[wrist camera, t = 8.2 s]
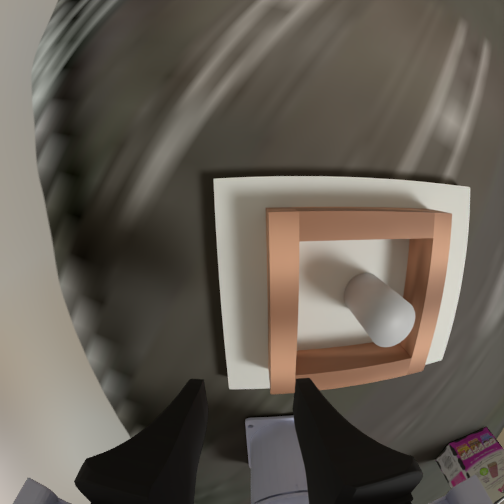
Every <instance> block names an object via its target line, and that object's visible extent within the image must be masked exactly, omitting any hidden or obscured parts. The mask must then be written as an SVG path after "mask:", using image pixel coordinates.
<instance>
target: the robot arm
mask: <svg viewBox="0 0 504 504" xmlns="http://www.w3.org/2000/svg"><path fill="white" fill-rule="evenodd" d="M207 420H208V404H207V398H206V391H205V384H204V380H200V379H190V380H189V381H188V382H187V384H186V385H185V386H184V388H183V389H182V390H181V392H180V393H179V394H178V395H177V397H176V398H175V399H174V400H173V401H172V403H171V404H170V405H169V406H168V407H167V408H166V409H165V410H164V411H163V412H162V413H161V414H160V415H159V416H158V417H157V418H156V419H155V420H154V421H153V422H152V423H151V424H150V425H148V426H147V427H146V428H145V429H143V430H142V431H141V432H139V433H138V434H137V435H135V436H134V437H132V438H131V439H129V440H128V441H126V442H124V443H122V444H120V445H119V446H117V447H115V448H113V449H111V450H108V451H106V452H104V453H101V454H99V455H96V456H93V457H90V458H87V459H86V460H85V462H84V463H83V465H82V467H81V469H80V471H79V473H78V475H77V477H76V479H75V481H74V482H75V485H76V487H77V488H78V489H79V490H80V492H81V493H82V494H83V495H84V496H85V497H86V498H87V499H88V500H89V501H90V502H91V504H194V494H195V483H196V473H197V467H198V463H199V458H200V454H201V450H202V446H203V442H204V437H205V433H206V429H207ZM245 427H246V439H247V450H248V462H249V467H250V468H251V504H411V501H412V500H413V497H412V494H411V492H412V491H413V489H414V488H415V487H416V486H417V485H418V484H419V482H420V481H421V479H422V477H423V473H422V471H421V469H420V467H419V465H418V463H417V462H416V460H415V459H414V457H412V456H409V455H406V454H403V453H401V452H398V451H395V450H393V449H391V448H388V447H386V446H384V445H382V444H380V443H378V442H377V441H375V440H373V439H372V438H370V437H368V436H367V435H365V434H364V433H362V432H361V431H359V430H358V429H357V428H356V427H354V426H353V425H352V424H351V423H349V422H348V421H347V420H346V419H345V418H344V417H343V416H342V415H341V414H340V413H339V412H338V411H337V410H336V409H335V408H334V407H333V406H332V405H331V404H330V403H329V402H328V401H327V399H326V398H325V397H324V396H323V395H322V393H321V392H320V391H319V389H318V388H317V387H316V385H315V384H314V383H313V381H312V380H311V379H310V378H298V379H296V383H295V393H294V403H293V415H291V416H277V417H255V418H247V419H246V420H245ZM13 504H71V503H68V502H66V501H64V500H62V499H60V498H58V497H57V496H56V495H55V494H54V493H53V492H52V491H51V490H50V489H48V488H47V487H45V486H44V485H42V484H40V483H38V482H36V481H34V480H33V479H31V478H27V480H26V482H25V484H24V485H23V487H22V489H21V490H20V492H19V494H18V496H17V497H16V499H15V501H14V503H13ZM428 504H493V503H492V501H491V499H490V497H489V496H488V494H487V492H486V491H485V489H484V487H483V485H482V484H481V482H480V481H479V479H478V477H477V476H476V475H473V476H471V477H470V478H468V479H466V480H465V481H463V482H461V483H459V484H457V485H456V486H454V487H453V488H452V489H451V490H450V491H449V492H448V493H447V494H446V495H445V496H443V497H441V498H439V499H437V500H435V501H433V502H431V503H428Z"/></svg>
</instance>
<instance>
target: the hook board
mask: <svg viewBox="0 0 504 504" xmlns="http://www.w3.org/2000/svg"><path fill="white" fill-rule="evenodd" d="M214 201H215V221H216V239H217V255H218V270H219V283H220V297H221V309H222V321H223V332H224V343H225V353H226V363H227V373H228V382H229V389H263V388H270V381H269V370H268V295H267V246H266V208H272V207H395V208H424V209H432V210H437V211H442V212H447V213H452V226H451V238H450V249H449V257H448V265H447V272H446V279H445V285H444V290H443V296H442V301H441V306H440V311H439V315H438V319H437V324H436V328H435V332H434V336H433V339H432V343H431V347H430V350H429V353H428V357H427V360H426V363H425V365H426V364H430V363H433V362H437V361H440V360H442V358H443V355H444V352H445V349H446V346H447V342H448V339H449V335H450V332H451V328H452V324H453V320H454V316H455V312H456V308H457V303H458V299H459V294H460V289H461V283H462V277H463V271H464V265H465V257H466V249H467V240H468V229H469V213H470V187H464V186H457V185H448V184H440V183H430V182H420V181H409V180H396V179H381V178H362V177H334V176H266V177H237V178H217V179H214ZM408 252H409V239H375V240H336V241H301V242H299V304H298V333H297V351H298V350H310V349H322V348H331V347H341V346H349V345H357V344H364V343H371V342H374V343H375V344H376V345H378V346H380V347H391V346H394V345H396V344H398V343H400V342H401V341H403V340H404V339H405V338H406V337H407V336H408V334H409V333H410V332H411V330H412V328H413V325H414V322H415V311H414V308H413V306H412V305H411V304H410V303H409V302H408V301H406V300H405V299H404V298H403V294H404V287H405V279H406V271H407V262H408Z"/></svg>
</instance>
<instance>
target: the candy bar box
mask: <svg viewBox="0 0 504 504" xmlns="http://www.w3.org/2000/svg"><path fill="white" fill-rule="evenodd" d="M436 462H437V463H438V465H439V467H440V469H441V471H442V472H443V474H444V476H445V478H446V480H447V481H448V483H449V485H450V487H451V489H452V488H453V487H454V486H456V485H457V484H459V483H461V482H463V481H465V480H466V479H468V478H470V477H471V476H473V475H476V476H477V477H478V479H479V481H480V482H481V484H482V485H483V487H484V489H485V491H486V492H487V494H488V496H489V497H490V499H491V501H492V503H493V504H499V503H500V502H502V501H503V500H504V449H503V448H502V446H501V445H500V444H499V442H498V441H497V440H496V438H495V437H494V436H493V434H492V433H491V432H490V430H489V429H488V428H487V427H485V428H483V429H481V430H479V431H477V432H474V433H472V434H470V435H468V436H466V437H463V438H461V439H459V440H456V441H454V442H452V443H449V444H448V445H447V446H446V448H445V449H444V450H443V451H442V452H441V454H440V455H439V456H438V457H437V459H436Z"/></svg>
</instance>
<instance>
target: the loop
mask: <svg viewBox="0 0 504 504" xmlns="http://www.w3.org/2000/svg"><path fill="white" fill-rule="evenodd" d="M451 226H452V213H447V212H442V211H437V210H432V209H424V208H395V207H272V208H266V246H267V295H268V370H269V381H270V392H271V394H284V393H295V383H296V379H298V378H310V379H311V380H312V381H313V383H314V384H315V385H316V387H317V388H318V389H319V390H326V389H334V388H341V387H348V386H354V385H360V384H366V383H371V382H376V381H381V380H386V379H391V378H395V377H400V376H404V375H408V374H412V373H416V372H420V371H423V369H424V366H425V363H426V360H427V357H428V353H429V350H430V347H431V343H432V339H433V336H434V332H435V328H436V324H437V319H438V315H439V311H440V306H441V301H442V296H443V290H444V285H445V279H446V272H447V265H448V257H449V249H450V238H451ZM375 239H409V252H408V262H407V271H406V279H405V287H404V294H403V298H404V299H405V300H406V301H408V302H409V303H410V304H411V305H412V306H413V308H414V311H415V322H414V325H413V328H412V330H411V332H410V333H409V334H408V336H407V337H406V338H405V339H404V340H403V341H401V342H400V343H398V344H396V345H394V346H391V347H380V346H378V345H376V344H375V343H374V342H371V343H364V344H357V345H349V346H341V347H331V348H322V349H310V350H298V351H297V333H298V304H299V242H301V241H336V240H375Z"/></svg>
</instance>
